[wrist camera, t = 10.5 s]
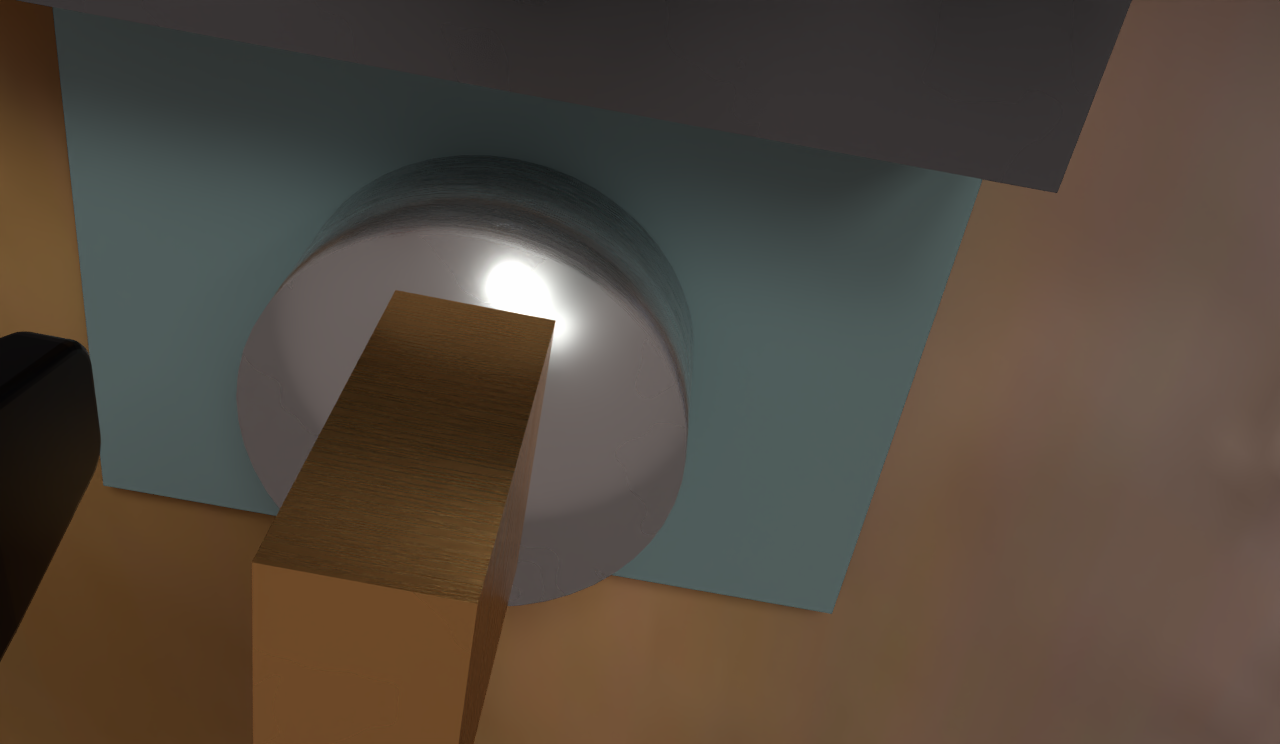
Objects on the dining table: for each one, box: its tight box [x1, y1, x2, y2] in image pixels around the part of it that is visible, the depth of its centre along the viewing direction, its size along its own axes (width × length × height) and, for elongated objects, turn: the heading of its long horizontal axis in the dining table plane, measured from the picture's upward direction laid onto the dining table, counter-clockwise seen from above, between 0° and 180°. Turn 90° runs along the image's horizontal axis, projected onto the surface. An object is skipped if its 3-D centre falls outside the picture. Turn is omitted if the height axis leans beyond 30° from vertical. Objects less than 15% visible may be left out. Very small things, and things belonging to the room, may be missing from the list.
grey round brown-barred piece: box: [236, 155, 694, 744], centre depth 18 cm, size 7×7×9 cm
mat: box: [53, 7, 982, 614], centre depth 22 cm, size 15×10×1 cm, turn 81°
